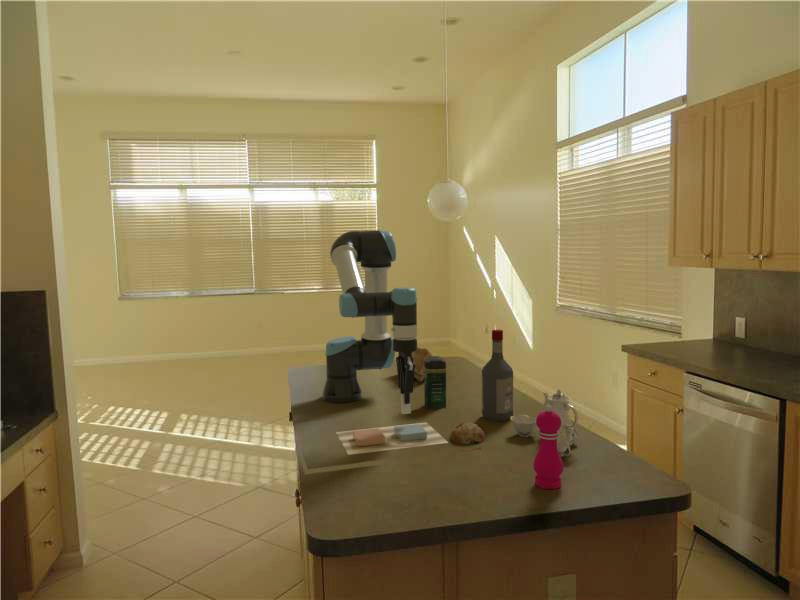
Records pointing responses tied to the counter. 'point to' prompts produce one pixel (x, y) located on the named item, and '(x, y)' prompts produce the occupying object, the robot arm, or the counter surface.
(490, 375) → the liquor
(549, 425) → the pepper mill
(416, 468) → the counter surface
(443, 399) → the coffee jar
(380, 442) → the pink square tile
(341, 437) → the board
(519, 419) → the chinaware
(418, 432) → the tile blue
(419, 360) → the rough brown rock
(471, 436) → the bread roll
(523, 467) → the counter surface
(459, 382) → the counter surface
